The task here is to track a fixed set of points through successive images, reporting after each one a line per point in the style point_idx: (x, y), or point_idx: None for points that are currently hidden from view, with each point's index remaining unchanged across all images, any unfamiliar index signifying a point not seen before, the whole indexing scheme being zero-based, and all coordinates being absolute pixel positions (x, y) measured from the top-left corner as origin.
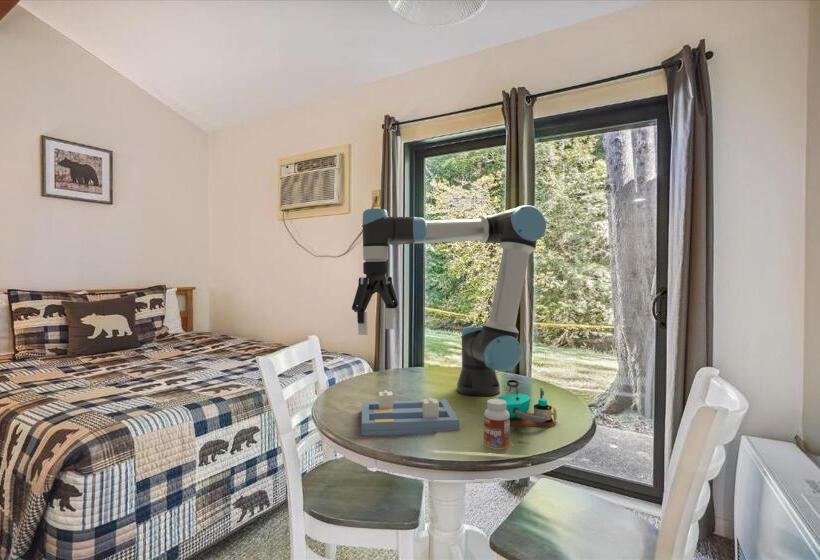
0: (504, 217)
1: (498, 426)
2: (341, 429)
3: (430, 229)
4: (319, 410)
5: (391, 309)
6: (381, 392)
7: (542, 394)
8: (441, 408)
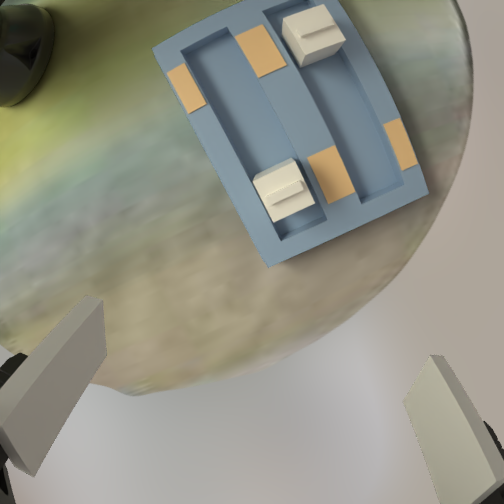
0: None
1: None
2: (392, 248)
3: None
4: (286, 353)
5: (10, 424)
6: (276, 211)
7: None
8: (243, 28)
